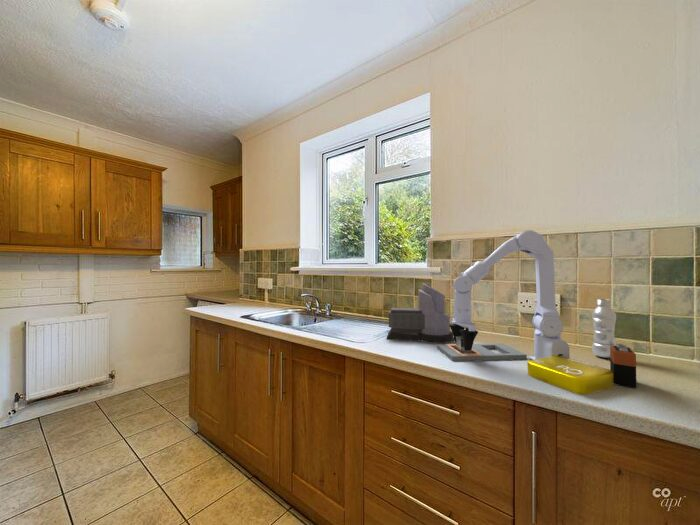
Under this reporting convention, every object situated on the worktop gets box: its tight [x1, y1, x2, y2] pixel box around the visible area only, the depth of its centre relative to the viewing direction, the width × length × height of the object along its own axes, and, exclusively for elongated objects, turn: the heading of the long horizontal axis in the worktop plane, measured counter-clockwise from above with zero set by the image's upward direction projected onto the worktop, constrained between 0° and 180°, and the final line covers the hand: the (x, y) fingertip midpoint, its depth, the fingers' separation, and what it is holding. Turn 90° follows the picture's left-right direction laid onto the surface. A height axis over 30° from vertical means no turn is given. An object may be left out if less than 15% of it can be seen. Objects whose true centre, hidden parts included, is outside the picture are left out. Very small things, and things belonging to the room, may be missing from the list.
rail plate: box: [436, 343, 528, 362], centre depth 102 cm, size 14×26×2 cm, turn 93°
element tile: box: [527, 356, 615, 396], centre depth 78 cm, size 15×15×5 cm
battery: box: [609, 343, 637, 389], centre depth 76 cm, size 4×7×10 cm, turn 143°
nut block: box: [456, 336, 472, 354], centre depth 102 cm, size 4×4×6 cm
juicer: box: [385, 282, 455, 344], centre depth 125 cm, size 30×16×24 cm, turn 79°
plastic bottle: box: [591, 298, 617, 359], centre depth 97 cm, size 6×7×20 cm
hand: (463, 346), depth 101 cm, fingers open, 7 cm apart
